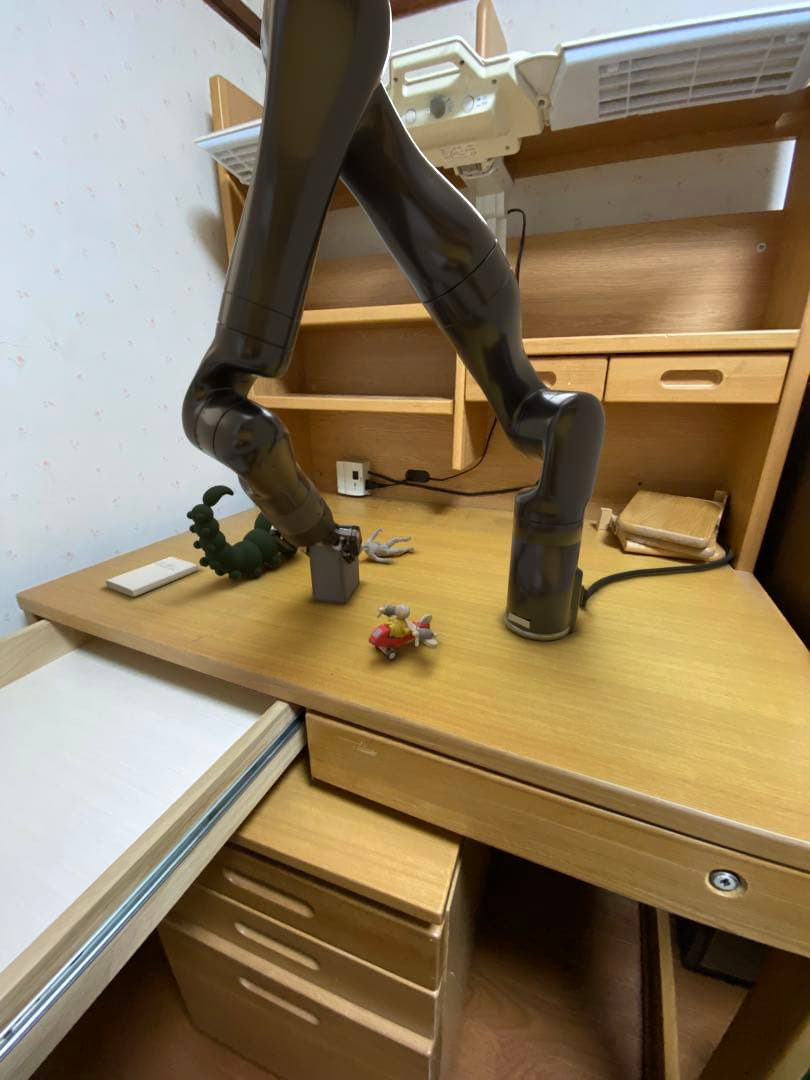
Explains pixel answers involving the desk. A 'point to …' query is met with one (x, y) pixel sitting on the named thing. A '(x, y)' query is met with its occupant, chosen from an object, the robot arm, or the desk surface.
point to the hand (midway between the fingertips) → (333, 556)
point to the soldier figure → (383, 547)
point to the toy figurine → (241, 554)
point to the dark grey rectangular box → (332, 574)
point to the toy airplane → (401, 630)
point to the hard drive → (151, 576)
